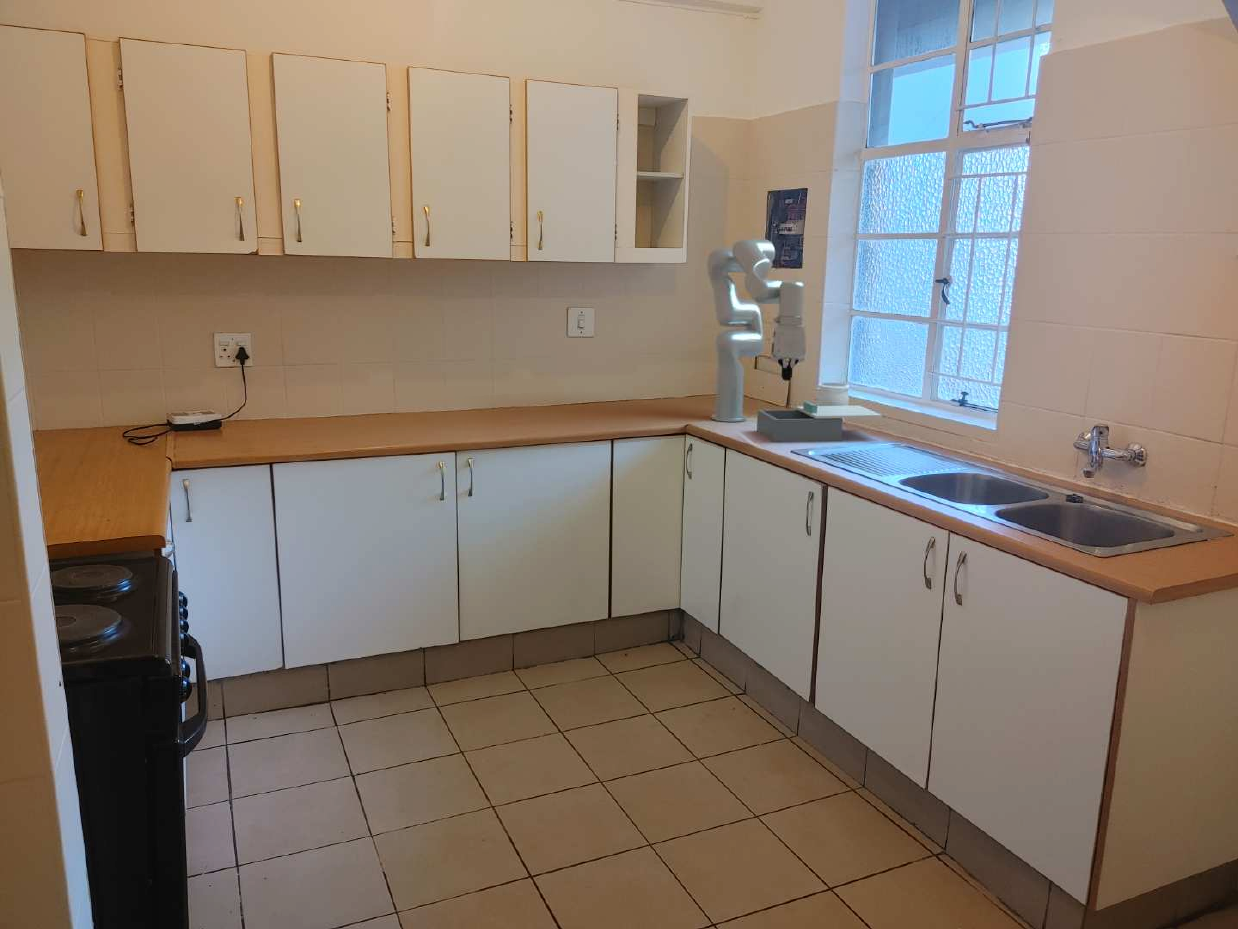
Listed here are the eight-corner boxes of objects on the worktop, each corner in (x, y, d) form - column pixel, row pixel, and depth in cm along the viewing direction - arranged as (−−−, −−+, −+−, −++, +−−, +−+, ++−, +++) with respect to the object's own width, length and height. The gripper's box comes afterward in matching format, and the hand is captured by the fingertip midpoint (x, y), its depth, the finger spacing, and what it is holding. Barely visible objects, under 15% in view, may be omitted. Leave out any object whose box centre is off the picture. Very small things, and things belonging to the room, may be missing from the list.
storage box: (756, 433, 303) (757, 410, 301) (820, 432, 306) (821, 409, 304) (773, 445, 285) (775, 420, 283) (841, 444, 289) (842, 419, 287)
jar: (847, 431, 309) (850, 387, 305) (815, 430, 311) (818, 386, 307) (846, 426, 319) (849, 383, 315) (815, 424, 321) (818, 381, 317)
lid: (795, 408, 303) (796, 399, 302) (859, 407, 306) (859, 398, 305) (815, 418, 285) (816, 408, 285) (882, 417, 289) (883, 407, 288)
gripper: (770, 322, 282) (767, 381, 286) (817, 322, 284) (813, 381, 288) (763, 320, 289) (760, 378, 293) (808, 320, 291) (804, 378, 295)
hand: (786, 379), depth 290 cm, fingers closed
